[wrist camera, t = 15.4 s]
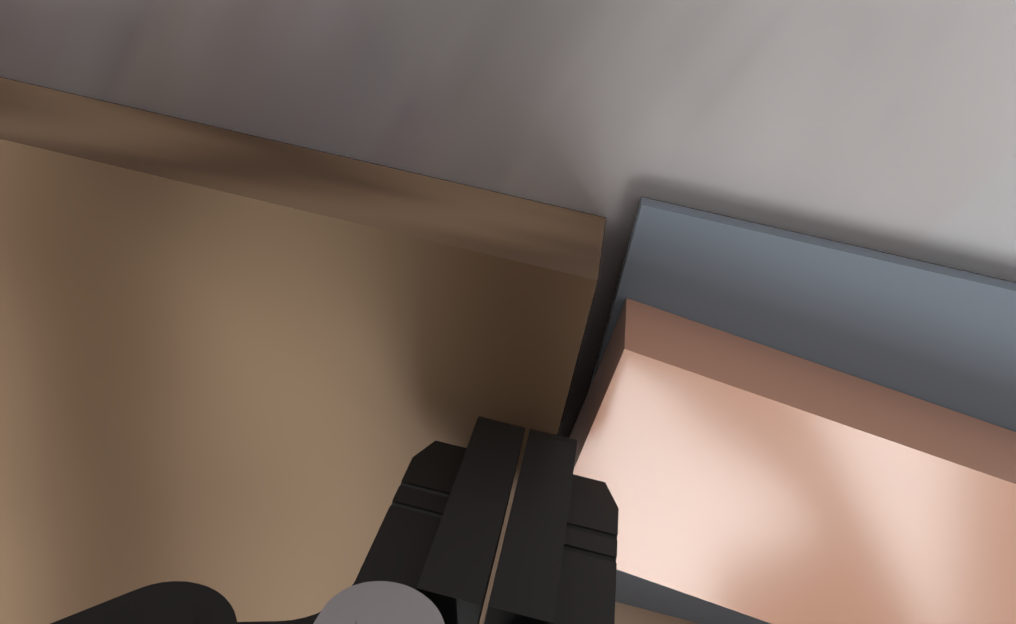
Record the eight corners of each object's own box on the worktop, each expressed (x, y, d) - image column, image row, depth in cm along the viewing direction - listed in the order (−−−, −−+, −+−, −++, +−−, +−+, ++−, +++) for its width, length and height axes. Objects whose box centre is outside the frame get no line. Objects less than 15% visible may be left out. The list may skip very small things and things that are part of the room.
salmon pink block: (1068, 450, 13) (1136, 525, 11) (944, 611, 15) (987, 699, 13) (626, 298, 13) (624, 348, 12) (554, 475, 15) (542, 543, 13)
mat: (1435, 379, 12) (1466, 394, 12) (1025, 881, 18) (1034, 903, 18) (641, 197, 13) (641, 205, 13) (493, 734, 19) (490, 753, 19)
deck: (605, 217, 13) (598, 280, 11) (477, 716, 19) (450, 841, 16) (-137, 45, 14) (-319, 62, 12) (-53, 570, 20) (-163, 666, 17)
